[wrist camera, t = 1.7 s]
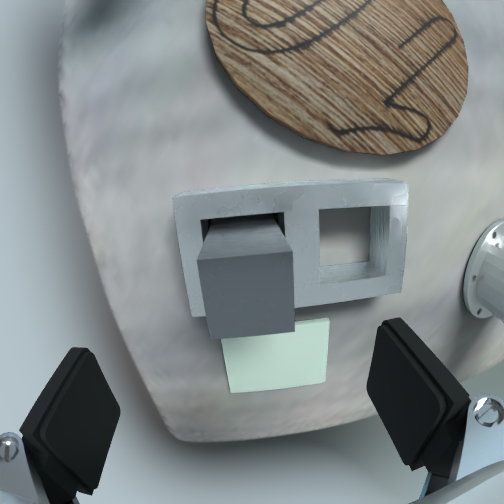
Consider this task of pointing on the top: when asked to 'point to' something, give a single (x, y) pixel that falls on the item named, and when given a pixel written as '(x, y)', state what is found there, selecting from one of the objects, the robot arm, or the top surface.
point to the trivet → (346, 67)
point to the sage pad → (278, 358)
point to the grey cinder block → (305, 233)
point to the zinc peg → (247, 277)
